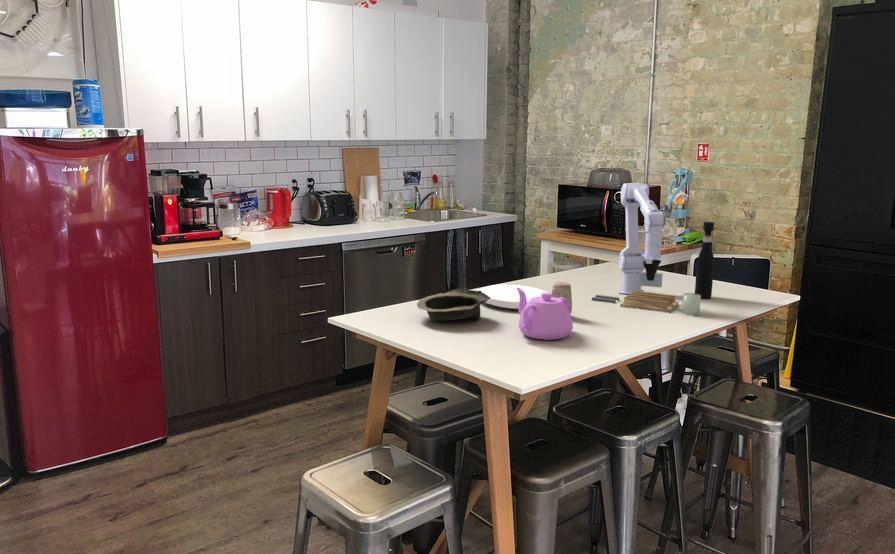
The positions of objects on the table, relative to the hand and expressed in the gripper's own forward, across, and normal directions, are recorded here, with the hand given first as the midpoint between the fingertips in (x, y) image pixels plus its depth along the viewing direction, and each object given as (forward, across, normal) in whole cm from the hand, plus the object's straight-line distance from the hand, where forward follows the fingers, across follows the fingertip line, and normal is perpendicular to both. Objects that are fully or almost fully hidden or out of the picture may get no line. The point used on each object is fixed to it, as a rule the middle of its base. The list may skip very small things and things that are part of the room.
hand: (650, 279), depth 271 cm
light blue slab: (+2, 0, 0) cm, 2 cm away
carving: (+10, +32, -25) cm, 41 cm away
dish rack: (+10, 0, 0) cm, 10 cm away
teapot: (+10, +57, -24) cm, 63 cm away
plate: (+10, +21, -46) cm, 52 cm away
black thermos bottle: (+10, -24, +17) cm, 31 cm away
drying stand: (+10, -1, -17) cm, 20 cm away
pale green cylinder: (+10, +6, +16) cm, 20 cm away
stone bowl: (+10, +54, -57) cm, 79 cm away
